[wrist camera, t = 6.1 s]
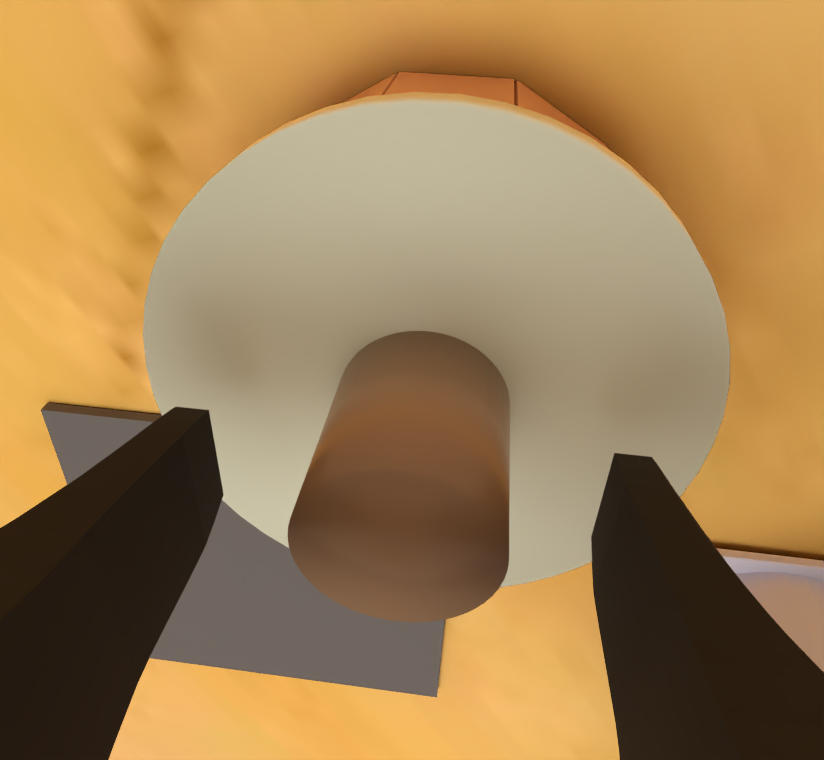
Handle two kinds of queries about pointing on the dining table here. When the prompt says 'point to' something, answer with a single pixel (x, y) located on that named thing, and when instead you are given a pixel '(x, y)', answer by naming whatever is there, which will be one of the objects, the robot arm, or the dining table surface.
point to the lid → (434, 344)
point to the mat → (258, 593)
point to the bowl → (471, 92)
